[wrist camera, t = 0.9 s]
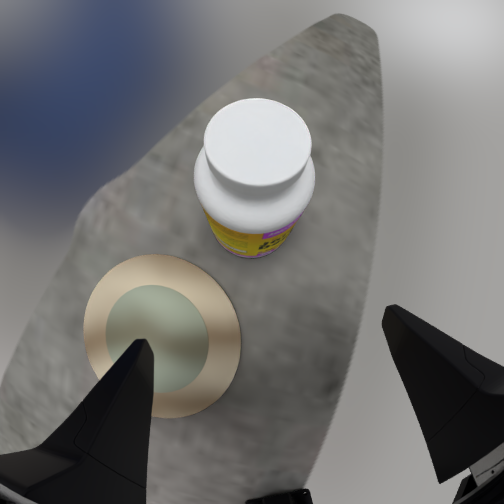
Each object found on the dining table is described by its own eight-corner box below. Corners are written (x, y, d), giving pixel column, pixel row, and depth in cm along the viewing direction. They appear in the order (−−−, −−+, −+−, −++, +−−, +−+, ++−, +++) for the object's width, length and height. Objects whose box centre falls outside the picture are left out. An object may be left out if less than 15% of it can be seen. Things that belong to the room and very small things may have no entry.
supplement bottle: (256, 275, 23) (269, 246, 10) (196, 225, 24) (148, 150, 11) (305, 215, 24) (359, 136, 11) (246, 170, 25) (247, 66, 12)
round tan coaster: (258, 399, 21) (259, 404, 20) (114, 417, 20) (107, 422, 19) (219, 239, 23) (217, 235, 22) (78, 275, 23) (71, 273, 21)
